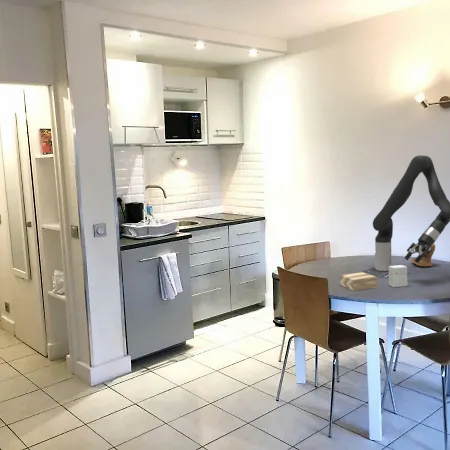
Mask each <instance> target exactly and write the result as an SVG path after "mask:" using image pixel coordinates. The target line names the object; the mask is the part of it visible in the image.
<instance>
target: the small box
mask: <svg viewBox="0 0 450 450" xmlns="http://www.w3.org/2000/svg"><path fill="white" fill-rule="evenodd" d="M388 285H389V286H391V287H393V288H399V287H407V286H408V267H407V266H406V265H403V264H397V265H391V266H389V271H388Z"/></svg>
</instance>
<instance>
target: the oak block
mask: <svg viewBox="0 0 450 450" xmlns="http://www.w3.org/2000/svg"><path fill="white" fill-rule="evenodd" d="M339 286H341V287H344V288H346V289H348V290H350V291H353V292H357V291H363V290H369V289H370V290H371V289H377V288H378V276H375V275H372V274H369V273H366V272H362V271H359V272H353V273H345V274H340V275H339Z"/></svg>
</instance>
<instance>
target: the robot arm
mask: <svg viewBox="0 0 450 450" xmlns="http://www.w3.org/2000/svg"><path fill="white" fill-rule="evenodd" d="M421 173H422V174H423V176H424V177H425V179H426V182H427V188H428V189H427V190H428V193H429V196H430V198H431V200H432V202H433V204H434V205H435V206H436V207H438V209H439V210H440V211H439V212H438V214H437V216H435V218H434V220H433V221H432V222H431V223H430V224H429V226H428V227H427V228H425V230H424V231H423V232H422V233H421V235H420V236H419V238H417V243H415V242H412V243H411V244H410V246H409V247H408V248H407V249H406V252H407V253H406V255H405V256H404V259H405V260H406V261H409V259H410V258H411V257H412V255H414V254H418V255H417V257H415V258H416V259H415V262H416V263H418V262H419V261H420V260H421V259H422V258H424V257H425V258H426V257H427V256H428V254H429V253H430V252H431V250H432V248H431V246H432V245H433V244H435V242H437V240H438V238H439V237H440V236H441V234H442V233H443V232H444V230H445V228H446V227H447V226H448V224H449V223H450V200H449V199H448V197H447V195H446V193H445V191H444V190H443V188H442V185H441V183H440V181H439V177H438V175H437V172H436V169H435V164H434V162H433V160H432V158H431V157H430V156H428V155H416V156H414V157H413V158H412V159H411V161H410V162H409V164H408V166H407V168H406V170H405V172H404V174H403V176H402V177H401V178H400V180H399V182H398V183H397V185H396V186H395V188H394V189H393V191H392V193H391V194H390V196H389V197H388V199H387V201H386V202H385V203H384V205H383V207H382V209H381V210H380V211H379V212H378V213H377V214H376V216H375V217H374V219H373V221H372V228H373V229H374V230H375V231H377V235H376V236H375V237H374V238H375V239H374V243H375V244H374V245H375V247H374V248H375V249H374V250H375V252H374V269H375V270H376V271H379V272H389V266H392V239H393V235H394V234H393V231H394V230H393V229H394V221H393V219H392V217H393V215H394V214H395V213H397V212H398V211H399V209H401V208H402V207H403V206H404V205H405V203H407V200H408V199H409V197H410V196H411V195H412V191H413V189H414V187H413V186H414V183H415V181H416V179H417V178H418V176H419V175H420V174H421ZM425 253H426V255H425Z"/></svg>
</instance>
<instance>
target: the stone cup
mask: <svg viewBox="0 0 450 450" xmlns="http://www.w3.org/2000/svg"><path fill="white" fill-rule="evenodd" d="M431 248H432V250H431V252H430V253H429V254H428V256H427V257H426V258H425V257H424V258H422V259H421V260H420V261H419V262H418V263H416V262H415V259H416V258H417V257H414V258H411V259H410V262H411V263H413V264H415V265H417V266H418V267H432V266H434V265H433V263H432V261H431V260H432V257H433V255H434V253H435V251H436V244H435V243H434V244H433V245H432V246H431ZM425 255H426V253H425Z"/></svg>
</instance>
